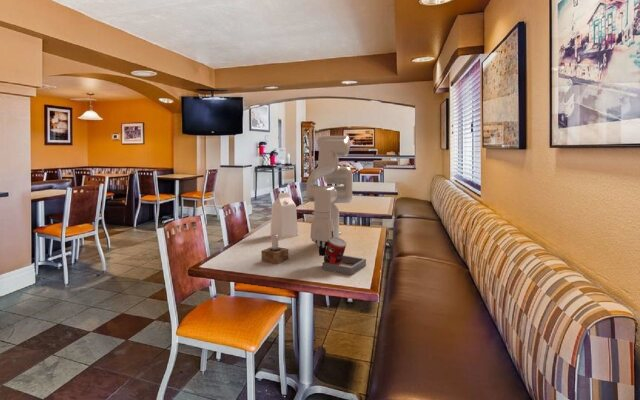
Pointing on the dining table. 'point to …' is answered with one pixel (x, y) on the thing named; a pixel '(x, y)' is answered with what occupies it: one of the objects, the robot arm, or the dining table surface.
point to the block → (275, 255)
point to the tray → (345, 269)
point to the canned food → (334, 251)
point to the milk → (284, 217)
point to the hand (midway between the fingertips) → (322, 255)
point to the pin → (275, 242)
